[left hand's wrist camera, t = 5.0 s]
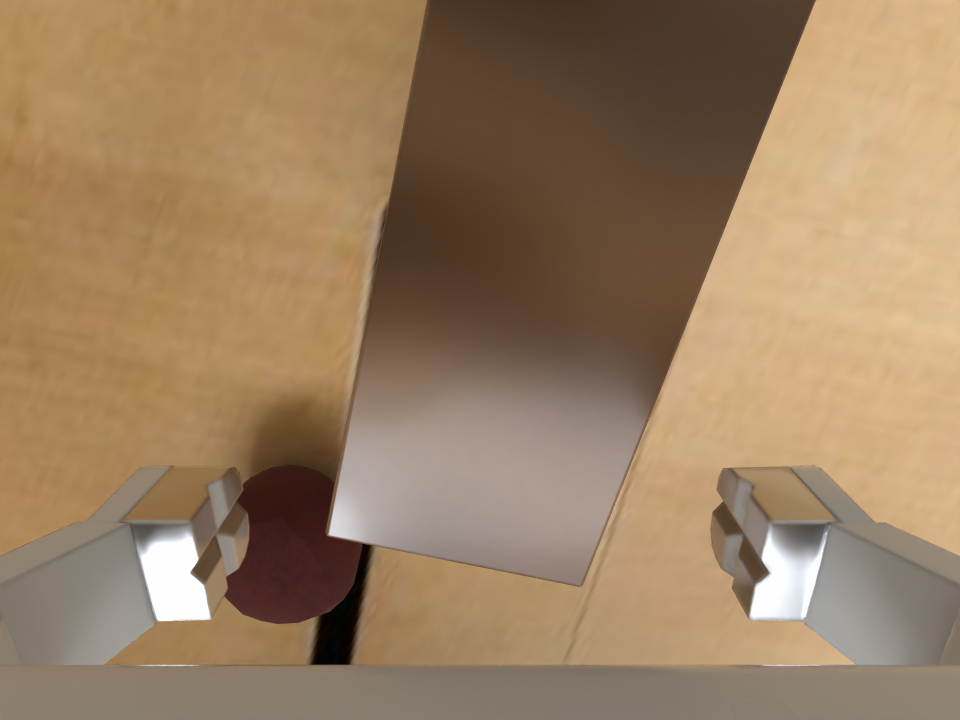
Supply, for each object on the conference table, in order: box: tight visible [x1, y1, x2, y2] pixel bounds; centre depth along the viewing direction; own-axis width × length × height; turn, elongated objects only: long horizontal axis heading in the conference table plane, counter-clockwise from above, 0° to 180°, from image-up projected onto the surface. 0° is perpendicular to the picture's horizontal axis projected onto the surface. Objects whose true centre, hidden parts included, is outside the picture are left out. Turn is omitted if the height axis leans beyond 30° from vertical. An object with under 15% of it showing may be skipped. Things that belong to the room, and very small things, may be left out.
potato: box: [224, 465, 362, 624], centre depth 30 cm, size 7×8×7 cm
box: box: [326, 0, 816, 587], centre depth 14 cm, size 22×6×11 cm, turn 166°
